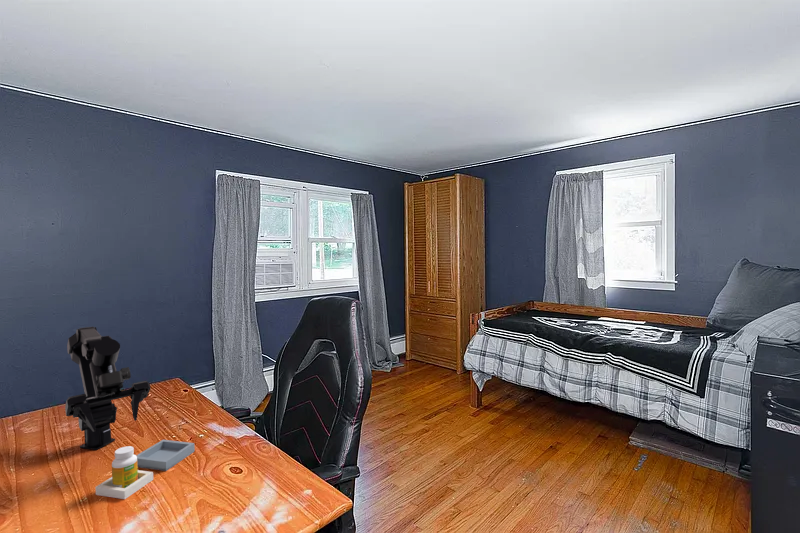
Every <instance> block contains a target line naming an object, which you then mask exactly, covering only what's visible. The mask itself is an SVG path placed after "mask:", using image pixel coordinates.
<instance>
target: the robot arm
mask: <svg viewBox="0 0 800 533" xmlns="http://www.w3.org/2000/svg"><path fill="white" fill-rule="evenodd" d="M97 329H98V328H97V327H95V326H85V327H79V328H77V329H76V331H75V333H74V334H73V335H71V336H70V337H68V340H67V345H66V346H67V354H68V355H70V358H71V361H72V362H74V363H76V364H77V365H78V366H79V372H80V378H81V380H82V381H81V382H82V387H83V391H84V392H83V393H82V394H81V393H80V394H78V395H71V396H68V397H67V399H66V400H65V406H64V407H65V408H64V410H65V411H64V412H65V415H66V417H72V418H78V427H79V429H80V431H81V432H84V443H83V444H82V445H79V448H80V449H87V450H92V451H93V450H95V451H97V450H99V449H102V448H103V447H104V446H107V445H109V444H111V443H112V442H115V441H116V438H112V429H111V424H114V423H116V421H117V413H118V412H117V410H118V407H117V406H116V404H115V403H113V402H112V401H114V400H119V399H123V398H128V397H130V400H131V402H130V407H131V413H132V418H133V421H135V422H136V421H137V420H138V414H139V405H140V403H141V402H143V401H144V399H146V398H148V396H149V393H150V391H151V385H150V382H148V380H144V381H138V382H133V383H132V385H131V388H129V389H123V388H124V382H125V381H127V380H130V379H131V378H132V377H131V376H132V374H131V369H130V367H127V366H126V367H122V368H121V369H120V370H118V371H117V368H116V364H115V363H117V360H118V358H119V353H120V350H121V343H119V341H117V340H115V339H113V338H112V337H111V336H110V335H105V336H104V335H103V336H102V335H101V334H100V332H98V330H97ZM122 389H123V390H122Z"/></svg>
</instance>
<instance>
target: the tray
mask: <svg viewBox="0 0 800 533" xmlns="http://www.w3.org/2000/svg"><path fill="white" fill-rule="evenodd" d="M195 447H196V446H195V443H194V442H188V441H178V440H171V439H169V440H168V439H161V440H160V441H159V442H158V441H157V442H156V443H155V444H153V445H151V446H149V447H148V448H147V449H145V450H142V451H141V452H139V453H138V454H135V455H136V456H137V466H138V468H141V469H148V470H154V471H155V470H156V471H163V472H167V471H168V470H170V469H171V468H173V467H174V466H176V465H177V464H178V463H180V462H181V461H183V460H184V459H185V458H187V457H189V456H191V454H193V453H194V452H195V450H196V448H195Z"/></svg>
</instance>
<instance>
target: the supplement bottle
mask: <svg viewBox="0 0 800 533" xmlns="http://www.w3.org/2000/svg"><path fill="white" fill-rule="evenodd" d="M134 450H135V448H134V446H130V445H128V446H122V447H118V449H116V450H115V451H114V459H113V460H112V462H111V477H112V487H119V488H126V487H128V486H129V485H131V484H132V483H134V482H135V481H137V480H138V470H139V469H138V468H139V467H138V466H137V456H136V455H137V454H134V452H135V451H134Z"/></svg>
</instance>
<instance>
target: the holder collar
mask: <svg viewBox="0 0 800 533" xmlns="http://www.w3.org/2000/svg"><path fill="white" fill-rule="evenodd" d="M153 480H154V472H153V471H147V470H139V469H138V480H137V481H135V482H134V483H132V484H131V485H129V486H128V487H126V488H119V487H112V476H111V477H110V478H108V479H106V480H104V481H103V482H101V483H100V484H98V485H96V486H95V495H96V496H100V497H101V496H102V497H108V498H114V499H115V498H116V499H121V500H126V499H127V498H129V497H131V496H132V495H133V494H135V493H136V492H138V491H139V490H140V489H142V488H143V487H145V486H146V485H148V484H149V483H150V482H152V481H153Z"/></svg>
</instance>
